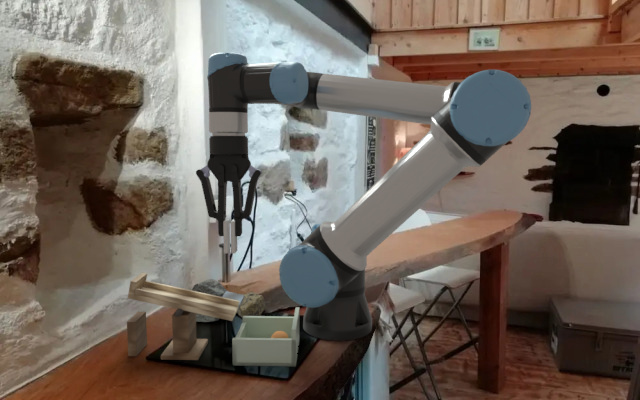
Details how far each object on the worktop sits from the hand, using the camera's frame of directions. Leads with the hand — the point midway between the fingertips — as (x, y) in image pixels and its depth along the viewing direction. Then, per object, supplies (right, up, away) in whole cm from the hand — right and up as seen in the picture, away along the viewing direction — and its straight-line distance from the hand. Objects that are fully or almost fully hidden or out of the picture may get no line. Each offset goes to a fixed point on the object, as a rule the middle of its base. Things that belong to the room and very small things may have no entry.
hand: (230, 251), depth 102 cm
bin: (+8, -19, -4) cm, 21 cm away
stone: (-8, -17, +14) cm, 23 cm away
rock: (+1, -17, +18) cm, 25 cm away
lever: (-8, -10, -2) cm, 13 cm away
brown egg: (+10, -17, -4) cm, 20 cm away
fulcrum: (-11, -19, -4) cm, 22 cm away
